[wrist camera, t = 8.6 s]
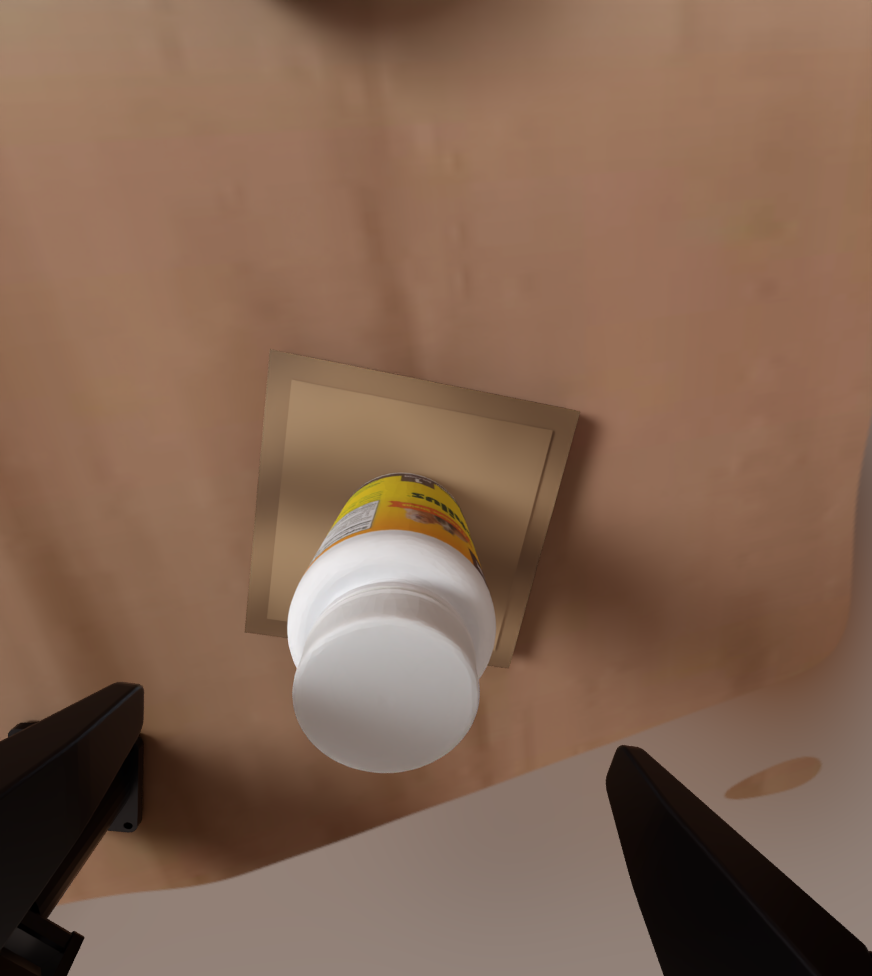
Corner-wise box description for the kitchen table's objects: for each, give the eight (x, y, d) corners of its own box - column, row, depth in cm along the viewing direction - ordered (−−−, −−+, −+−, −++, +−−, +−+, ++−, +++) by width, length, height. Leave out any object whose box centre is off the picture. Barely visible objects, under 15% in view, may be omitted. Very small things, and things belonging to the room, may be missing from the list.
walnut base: (502, 649, 22) (509, 670, 21) (256, 614, 21) (243, 634, 19) (567, 408, 19) (581, 411, 17) (281, 351, 18) (268, 349, 16)
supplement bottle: (488, 544, 19) (566, 728, 9) (387, 606, 19) (357, 843, 10) (419, 442, 17) (423, 528, 8) (314, 513, 18) (191, 676, 8)
